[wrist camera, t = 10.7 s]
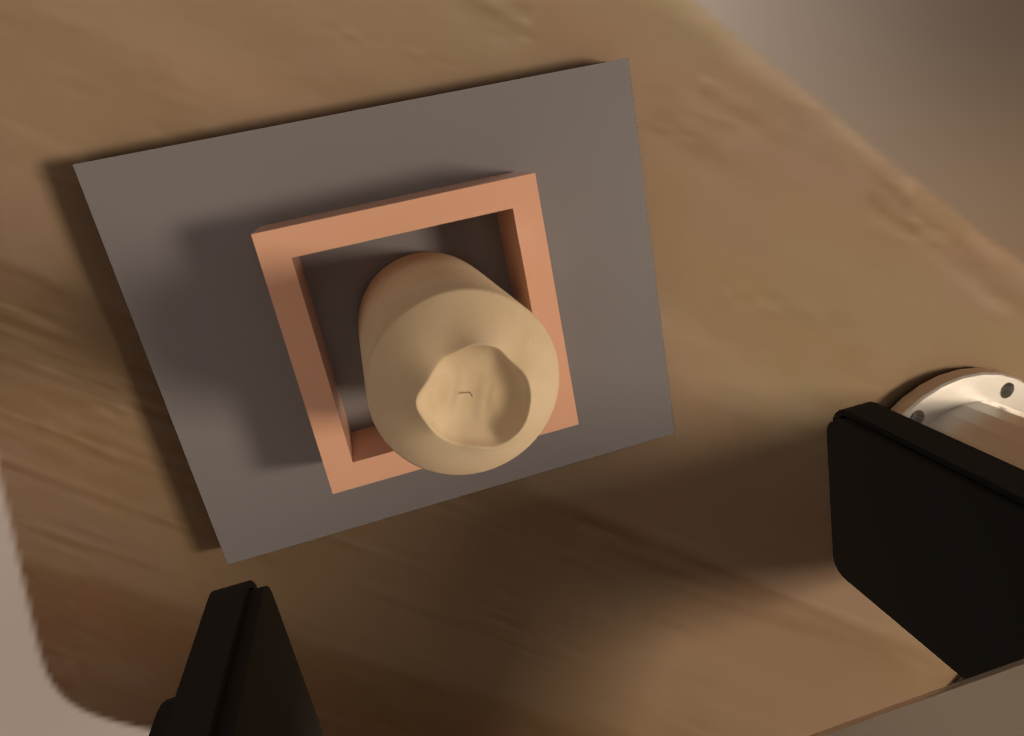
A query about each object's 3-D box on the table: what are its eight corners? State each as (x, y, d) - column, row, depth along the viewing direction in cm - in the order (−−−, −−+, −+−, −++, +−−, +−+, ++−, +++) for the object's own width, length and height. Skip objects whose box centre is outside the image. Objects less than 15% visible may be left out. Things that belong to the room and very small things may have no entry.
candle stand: (613, 62, 28) (663, 45, 23) (660, 421, 33) (707, 460, 29) (87, 164, 24) (35, 165, 20) (232, 545, 30) (215, 609, 25)
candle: (347, 376, 27) (352, 489, 18) (369, 237, 26) (388, 281, 17) (481, 394, 29) (551, 506, 19) (508, 264, 27) (597, 317, 18)
